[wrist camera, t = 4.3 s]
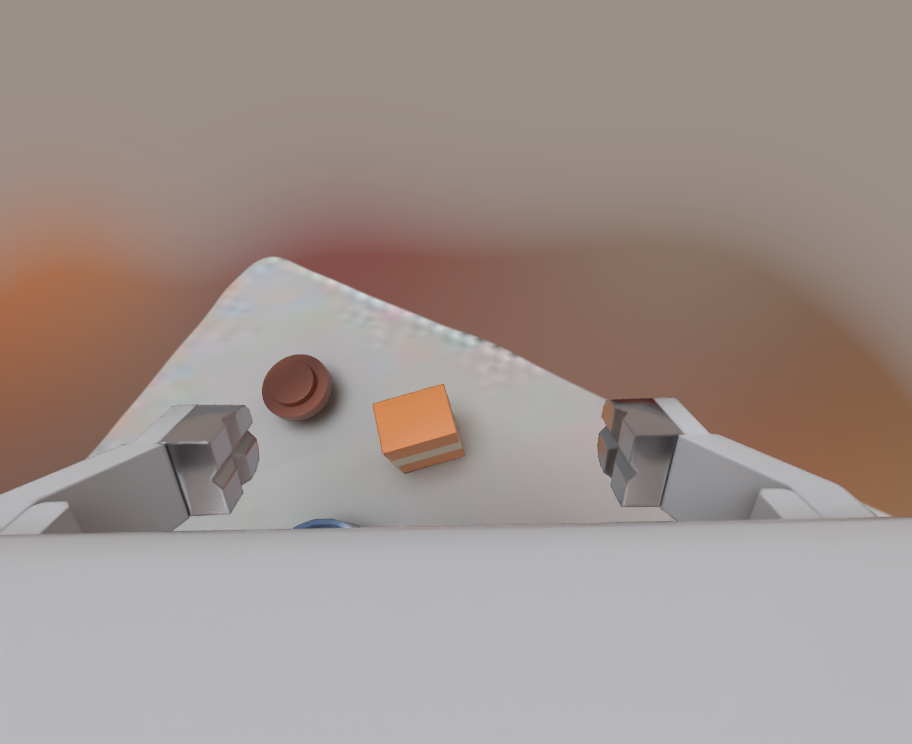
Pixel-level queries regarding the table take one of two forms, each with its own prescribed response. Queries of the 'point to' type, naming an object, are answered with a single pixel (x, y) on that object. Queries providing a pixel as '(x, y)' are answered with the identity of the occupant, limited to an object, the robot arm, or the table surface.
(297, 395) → the wooden mushroom
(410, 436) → the juice carton
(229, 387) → the table surface
